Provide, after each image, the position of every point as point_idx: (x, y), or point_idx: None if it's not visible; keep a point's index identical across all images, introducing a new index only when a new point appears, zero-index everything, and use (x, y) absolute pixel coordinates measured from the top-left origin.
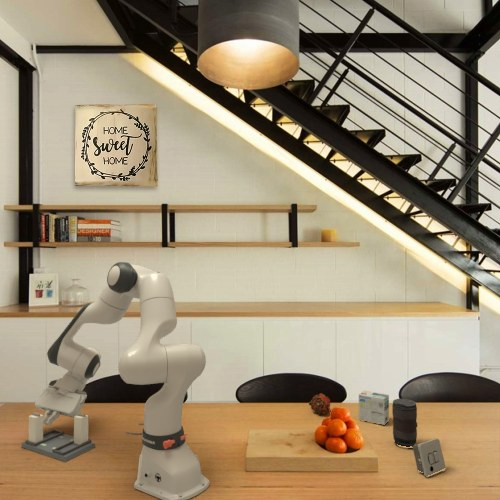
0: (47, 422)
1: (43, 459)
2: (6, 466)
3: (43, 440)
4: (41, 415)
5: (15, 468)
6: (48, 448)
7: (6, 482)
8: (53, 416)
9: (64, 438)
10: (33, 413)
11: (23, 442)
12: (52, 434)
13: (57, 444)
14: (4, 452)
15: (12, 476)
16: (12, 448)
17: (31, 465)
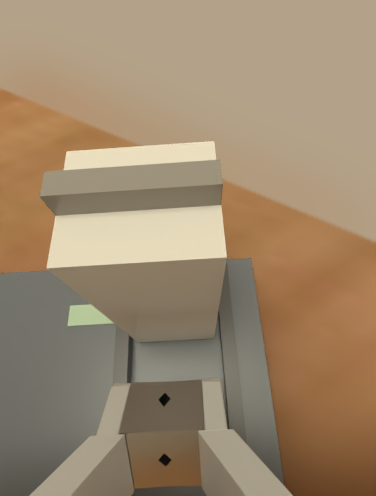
0: (113, 388)
1: (5, 251)
2: (112, 141)
3: (117, 332)
4: (62, 242)
5: (62, 150)
6: (19, 299)
7: (7, 96)
8: (46, 493)
9: (28, 490)
10: (182, 165)
11: (246, 267)
12: (198, 491)
13: (5, 373)
14: (259, 194)
15: (20, 120)
16: (275, 236)
17: (16, 192)
